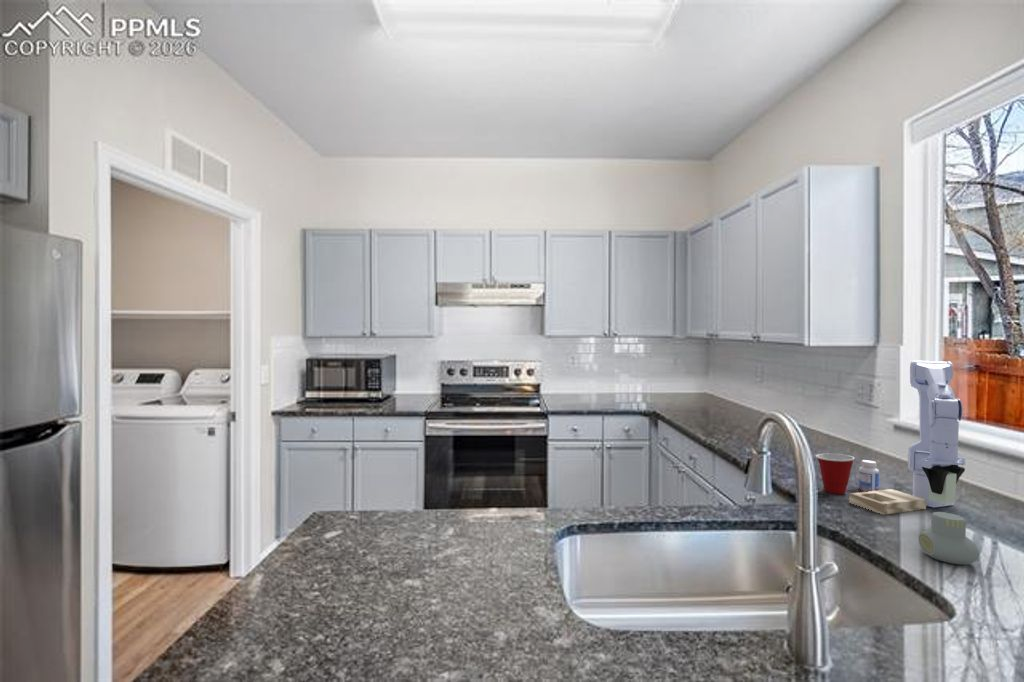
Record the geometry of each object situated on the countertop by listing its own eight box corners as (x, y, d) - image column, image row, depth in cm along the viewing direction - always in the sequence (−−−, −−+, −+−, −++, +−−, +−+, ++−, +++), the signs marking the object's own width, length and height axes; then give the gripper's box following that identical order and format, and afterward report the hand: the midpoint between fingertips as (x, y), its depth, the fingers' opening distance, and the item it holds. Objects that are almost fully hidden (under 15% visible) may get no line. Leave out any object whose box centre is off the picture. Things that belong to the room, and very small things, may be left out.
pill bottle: (872, 488, 167) (873, 459, 167) (882, 493, 162) (883, 463, 162) (854, 487, 168) (855, 459, 168) (864, 492, 162) (865, 463, 162)
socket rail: (891, 498, 157) (891, 489, 157) (926, 509, 147) (926, 499, 147) (849, 503, 151) (849, 493, 151) (882, 514, 142) (883, 504, 142)
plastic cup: (815, 484, 170) (816, 449, 170) (854, 491, 164) (855, 454, 164) (813, 492, 161) (814, 455, 161) (853, 499, 155) (854, 461, 155)
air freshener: (984, 573, 107) (985, 527, 107) (938, 566, 109) (939, 522, 109) (955, 552, 117) (957, 510, 117) (914, 547, 120) (915, 506, 120)
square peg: (938, 498, 137) (939, 469, 137) (955, 503, 133) (956, 473, 133) (928, 499, 136) (929, 470, 136) (945, 504, 132) (946, 474, 132)
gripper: (942, 447, 128) (940, 499, 129) (979, 444, 133) (977, 495, 133) (913, 441, 135) (911, 491, 135) (949, 439, 140) (947, 487, 140)
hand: (942, 492), depth 135 cm, fingers closed on square peg, 4 cm apart
